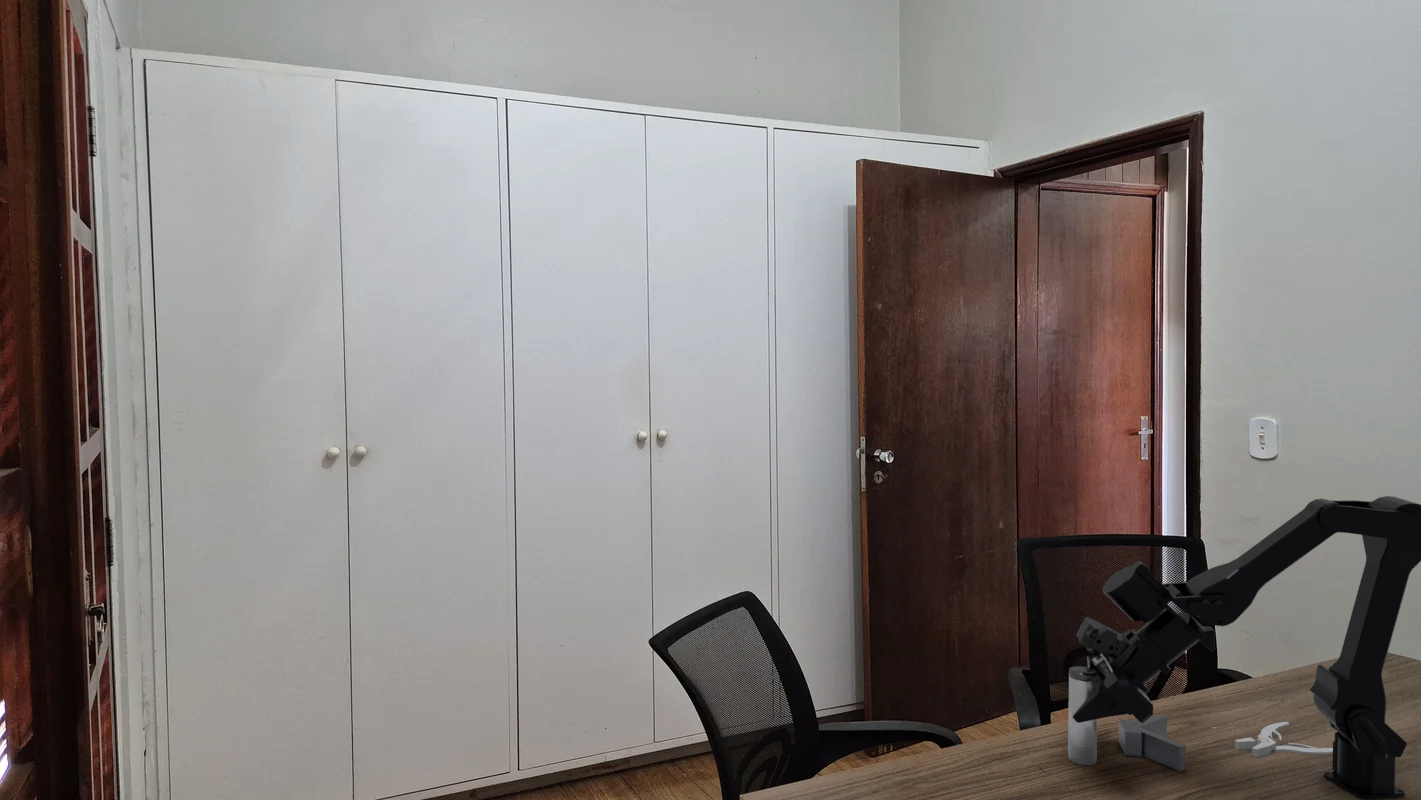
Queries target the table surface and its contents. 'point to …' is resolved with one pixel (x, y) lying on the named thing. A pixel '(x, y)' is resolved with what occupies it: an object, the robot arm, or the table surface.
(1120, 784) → the table surface
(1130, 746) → the v block
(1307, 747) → the pliers
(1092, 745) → the axle
